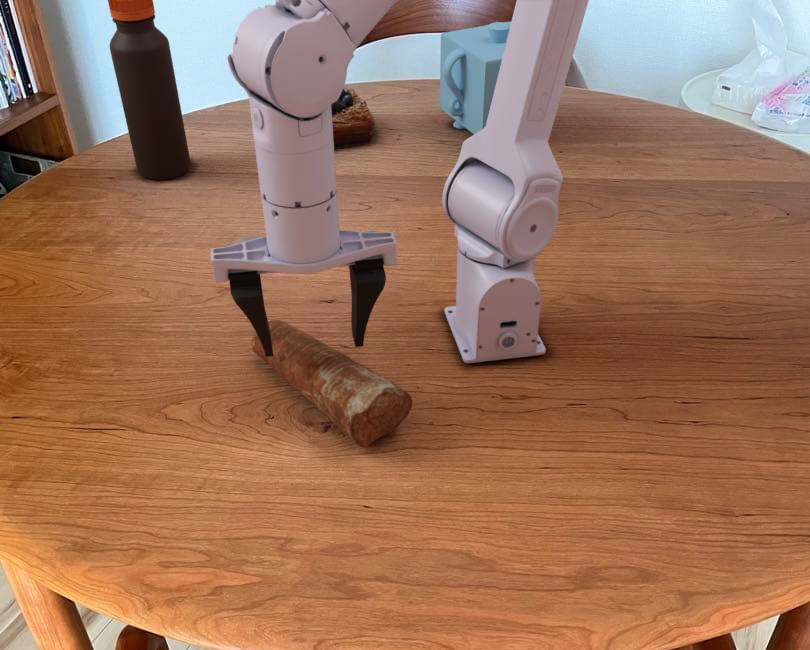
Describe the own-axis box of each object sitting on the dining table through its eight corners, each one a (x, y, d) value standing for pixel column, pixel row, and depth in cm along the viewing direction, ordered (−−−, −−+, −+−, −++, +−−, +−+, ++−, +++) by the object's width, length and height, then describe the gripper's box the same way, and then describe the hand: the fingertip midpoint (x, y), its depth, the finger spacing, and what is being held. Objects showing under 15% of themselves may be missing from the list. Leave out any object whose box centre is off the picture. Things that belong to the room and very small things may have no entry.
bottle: (175, 184, 113) (139, 4, 99) (127, 176, 115) (85, -1, 100) (200, 162, 117) (170, -13, 103) (154, 155, 119) (118, -18, 105)
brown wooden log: (359, 464, 76) (355, 410, 72) (244, 360, 86) (235, 308, 82) (419, 434, 78) (418, 381, 74) (300, 337, 89) (294, 286, 85)
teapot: (422, 123, 125) (423, 19, 116) (520, 103, 130) (528, 2, 121) (484, 174, 114) (490, 64, 105) (590, 150, 118) (604, 43, 109)
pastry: (277, 124, 126) (272, 79, 122) (360, 112, 128) (358, 68, 124) (294, 155, 119) (289, 109, 114) (382, 143, 121) (381, 97, 117)
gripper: (385, 160, 72) (389, 311, 81) (199, 176, 70) (226, 328, 80) (400, 200, 67) (402, 355, 77) (202, 218, 65) (230, 375, 75)
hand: (313, 345), depth 78 cm, fingers open, 7 cm apart
